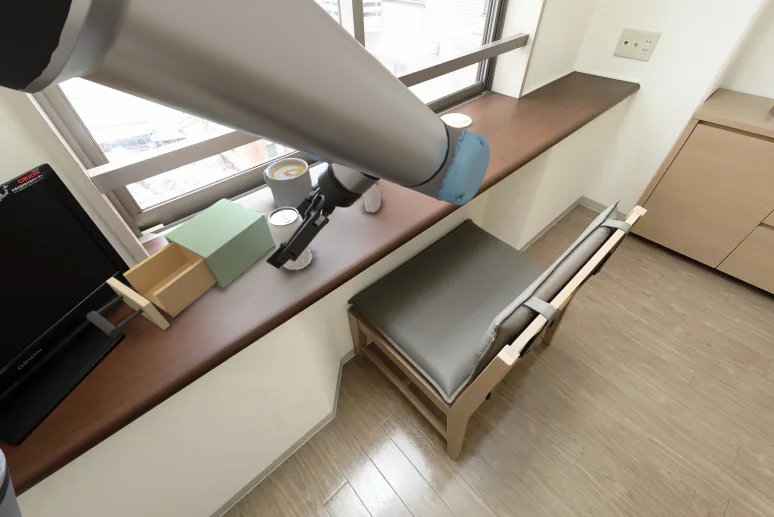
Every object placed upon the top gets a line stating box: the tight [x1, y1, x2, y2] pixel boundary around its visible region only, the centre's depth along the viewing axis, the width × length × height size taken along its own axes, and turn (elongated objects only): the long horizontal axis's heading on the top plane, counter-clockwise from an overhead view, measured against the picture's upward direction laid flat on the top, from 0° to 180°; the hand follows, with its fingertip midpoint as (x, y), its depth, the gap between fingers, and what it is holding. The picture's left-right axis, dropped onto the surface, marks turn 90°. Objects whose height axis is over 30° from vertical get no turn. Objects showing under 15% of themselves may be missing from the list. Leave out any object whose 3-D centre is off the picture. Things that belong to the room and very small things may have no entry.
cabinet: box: [163, 197, 276, 289], centre depth 71 cm, size 15×13×9 cm
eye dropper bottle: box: [363, 183, 382, 213], centre depth 81 cm, size 4×6×12 cm
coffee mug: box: [262, 157, 314, 209], centre depth 85 cm, size 13×10×10 cm
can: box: [267, 207, 313, 271], centre depth 68 cm, size 6×6×12 cm
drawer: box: [86, 242, 218, 338], centre depth 62 cm, size 19×11×7 cm, turn 149°
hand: (284, 240), depth 69 cm, fingers open, 13 cm apart
